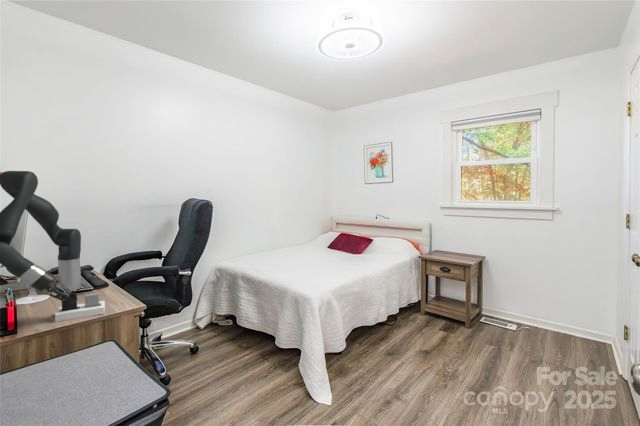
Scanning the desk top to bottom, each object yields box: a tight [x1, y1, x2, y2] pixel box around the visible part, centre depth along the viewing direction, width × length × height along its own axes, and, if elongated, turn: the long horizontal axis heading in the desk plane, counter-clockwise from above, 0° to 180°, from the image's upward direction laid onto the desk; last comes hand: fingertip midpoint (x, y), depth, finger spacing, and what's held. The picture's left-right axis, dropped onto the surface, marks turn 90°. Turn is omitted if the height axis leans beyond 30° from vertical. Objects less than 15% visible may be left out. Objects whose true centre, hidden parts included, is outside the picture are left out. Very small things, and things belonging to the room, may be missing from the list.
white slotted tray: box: [54, 292, 106, 323], centre depth 139 cm, size 10×17×8 cm, turn 122°
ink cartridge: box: [61, 292, 78, 311], centre depth 137 cm, size 5×2×8 cm, turn 122°
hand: (75, 301), depth 138 cm, fingers closed on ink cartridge, 2 cm apart
